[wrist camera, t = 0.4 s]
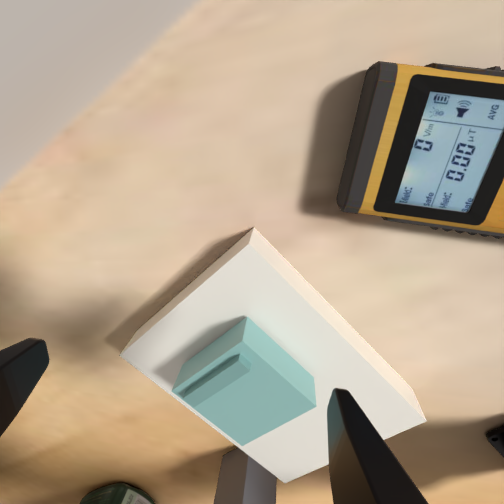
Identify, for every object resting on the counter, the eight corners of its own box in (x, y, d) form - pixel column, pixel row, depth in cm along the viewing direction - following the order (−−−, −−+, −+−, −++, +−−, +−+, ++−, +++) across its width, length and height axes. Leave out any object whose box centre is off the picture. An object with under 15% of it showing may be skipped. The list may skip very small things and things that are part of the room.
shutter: (313, 377, 22) (317, 414, 19) (246, 416, 24) (240, 454, 22) (247, 316, 20) (240, 347, 18) (182, 364, 23) (167, 398, 20)
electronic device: (575, 239, 20) (628, 262, 17) (332, 205, 20) (340, 222, 17) (666, 93, 16) (754, 89, 13) (367, 59, 17) (385, 47, 14)
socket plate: (412, 388, 25) (426, 421, 23) (285, 450, 30) (284, 483, 28) (254, 226, 21) (248, 243, 18) (136, 330, 26) (119, 355, 23)
